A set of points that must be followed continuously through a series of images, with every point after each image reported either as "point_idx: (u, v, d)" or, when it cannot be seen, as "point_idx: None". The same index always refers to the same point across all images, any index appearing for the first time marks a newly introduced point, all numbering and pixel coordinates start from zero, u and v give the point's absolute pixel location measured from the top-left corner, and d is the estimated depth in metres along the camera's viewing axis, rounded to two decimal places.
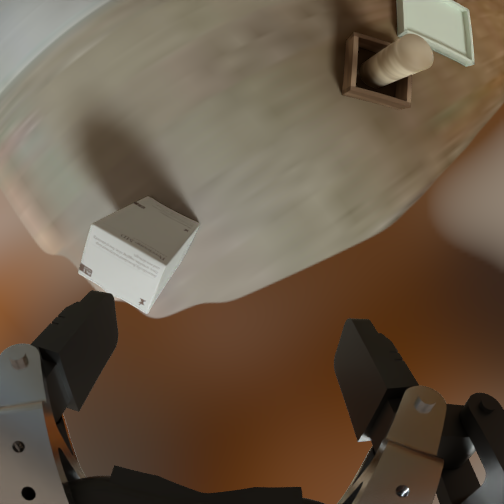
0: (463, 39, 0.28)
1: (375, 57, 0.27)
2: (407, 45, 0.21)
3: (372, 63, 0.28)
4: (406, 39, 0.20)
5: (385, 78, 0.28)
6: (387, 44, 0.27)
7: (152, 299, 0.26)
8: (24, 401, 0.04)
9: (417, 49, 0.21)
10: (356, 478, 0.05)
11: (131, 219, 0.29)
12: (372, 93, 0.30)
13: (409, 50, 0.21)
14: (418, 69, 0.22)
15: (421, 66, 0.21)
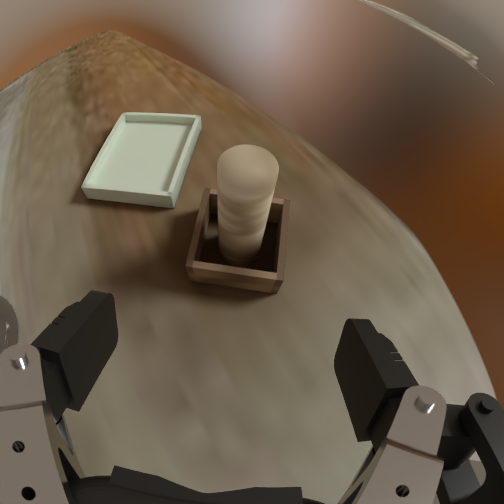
0: (165, 125, 0.35)
1: (234, 238, 0.24)
2: (242, 178, 0.19)
3: (241, 244, 0.25)
4: (231, 179, 0.18)
5: (264, 228, 0.25)
6: (200, 220, 0.27)
7: None
8: (24, 401, 0.04)
9: (245, 165, 0.19)
10: (356, 478, 0.05)
11: None
12: (282, 249, 0.26)
13: (250, 176, 0.19)
14: None
15: (273, 164, 0.19)
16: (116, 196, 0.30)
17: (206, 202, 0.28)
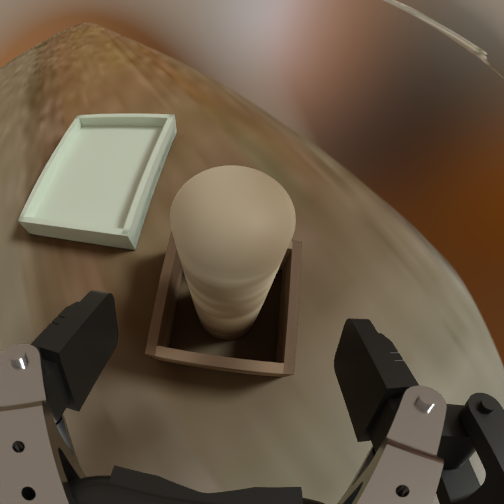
0: (129, 129, 0.26)
1: (215, 319, 0.14)
2: (220, 243, 0.09)
3: (227, 325, 0.15)
4: (198, 245, 0.09)
5: None
6: (166, 279, 0.17)
7: None
8: (24, 401, 0.04)
9: (226, 211, 0.10)
10: (356, 478, 0.05)
11: None
12: (292, 325, 0.17)
13: (238, 239, 0.09)
14: None
15: (283, 206, 0.10)
16: (60, 233, 0.20)
17: (175, 248, 0.18)
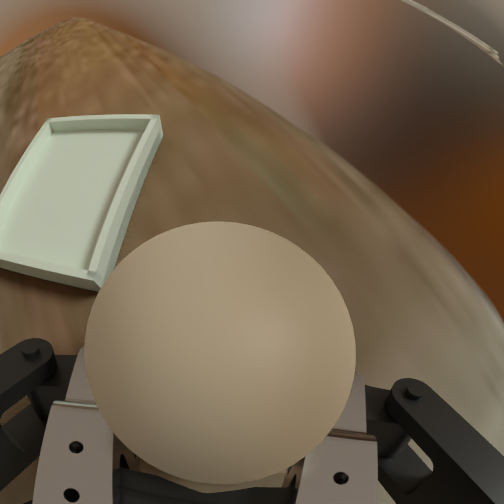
0: (105, 134, 0.20)
1: None
2: (191, 424, 0.03)
3: None
4: (144, 426, 0.03)
5: None
6: None
7: None
8: None
9: (203, 343, 0.04)
10: None
11: None
12: None
13: (231, 414, 0.04)
14: None
15: (330, 324, 0.04)
16: (19, 269, 0.15)
17: None
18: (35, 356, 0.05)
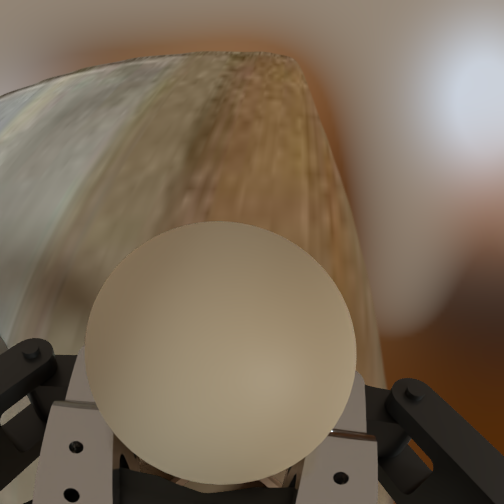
0: None
1: None
2: (191, 425, 0.03)
3: None
4: (144, 426, 0.03)
5: None
6: None
7: None
8: None
9: (203, 343, 0.04)
10: None
11: None
12: None
13: (231, 415, 0.04)
14: None
15: (331, 324, 0.04)
16: None
17: None
18: (35, 356, 0.05)
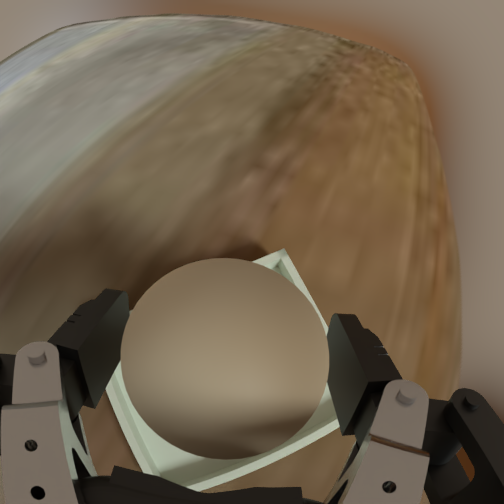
0: None
1: None
2: (205, 414, 0.05)
3: None
4: (169, 416, 0.05)
5: None
6: None
7: None
8: (40, 399, 0.04)
9: (213, 353, 0.05)
10: (341, 474, 0.05)
11: None
12: None
13: (234, 406, 0.05)
14: None
15: (310, 339, 0.06)
16: None
17: None
18: None
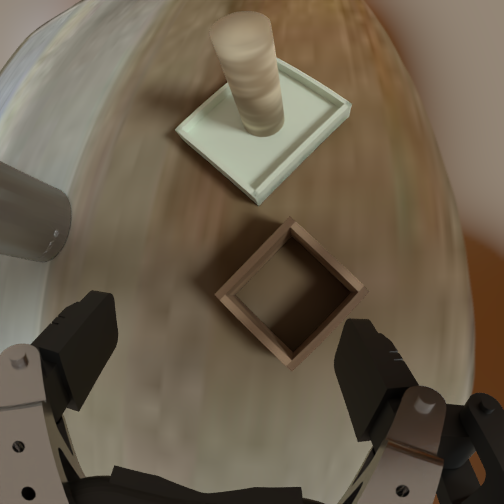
0: (307, 92, 0.27)
1: (256, 103, 0.21)
2: (240, 37, 0.15)
3: (264, 107, 0.22)
4: (230, 41, 0.15)
5: None
6: (259, 255, 0.23)
7: None
8: (24, 401, 0.04)
9: (236, 27, 0.15)
10: (356, 478, 0.05)
11: None
12: (316, 342, 0.21)
13: (247, 33, 0.15)
14: None
15: (261, 18, 0.15)
16: (206, 158, 0.27)
17: (279, 236, 0.23)
18: None
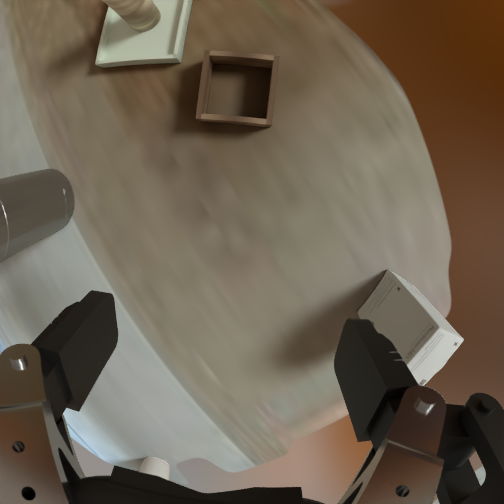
0: None
1: (140, 10, 0.23)
2: None
3: (146, 9, 0.23)
4: None
5: None
6: (204, 80, 0.29)
7: (456, 336, 0.26)
8: (24, 401, 0.04)
9: None
10: (356, 478, 0.05)
11: None
12: (271, 100, 0.29)
13: None
14: None
15: None
16: (128, 63, 0.29)
17: (207, 63, 0.28)
18: None
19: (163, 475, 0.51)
